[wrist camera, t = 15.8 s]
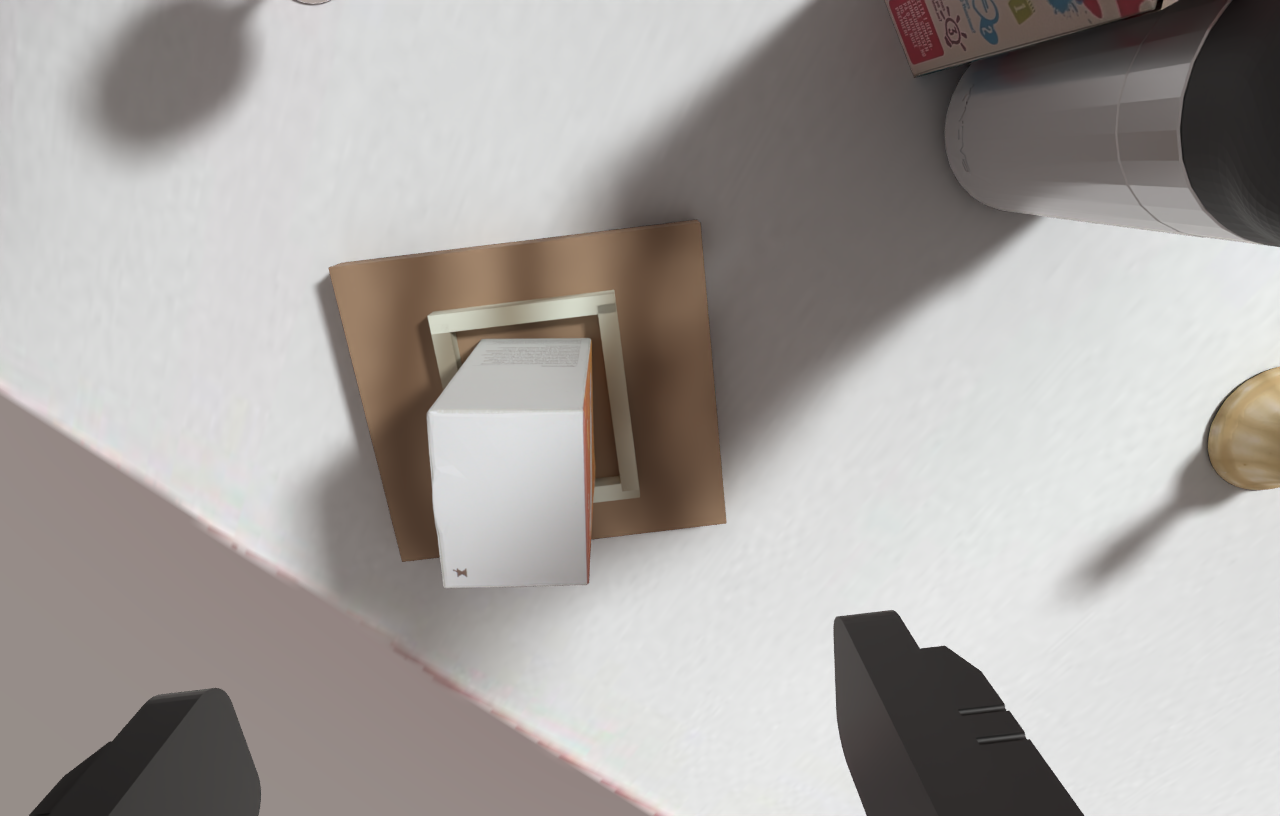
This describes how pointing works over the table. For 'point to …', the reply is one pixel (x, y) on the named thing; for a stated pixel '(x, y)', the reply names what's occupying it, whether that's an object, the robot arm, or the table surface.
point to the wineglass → (313, 1)
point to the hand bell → (1249, 434)
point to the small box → (515, 465)
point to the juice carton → (997, 26)
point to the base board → (548, 308)
